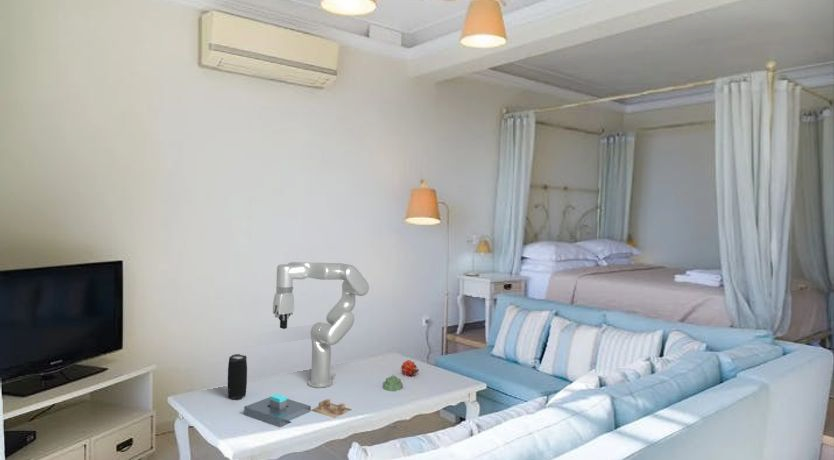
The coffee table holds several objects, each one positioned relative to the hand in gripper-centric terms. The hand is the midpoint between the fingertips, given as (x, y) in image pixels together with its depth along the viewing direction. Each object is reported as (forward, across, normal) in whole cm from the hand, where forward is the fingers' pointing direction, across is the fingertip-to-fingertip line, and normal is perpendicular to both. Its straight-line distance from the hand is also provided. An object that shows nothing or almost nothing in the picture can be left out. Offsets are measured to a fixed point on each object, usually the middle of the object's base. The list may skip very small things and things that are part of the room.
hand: (283, 328), depth 262 cm
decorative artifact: (+32, -40, +37) cm, 64 cm away
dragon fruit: (+32, -63, +33) cm, 78 cm away
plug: (+32, +19, +17) cm, 41 cm away
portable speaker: (+32, +16, -13) cm, 38 cm away
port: (+32, +19, +17) cm, 41 cm away
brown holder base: (+32, +3, +34) cm, 47 cm away
